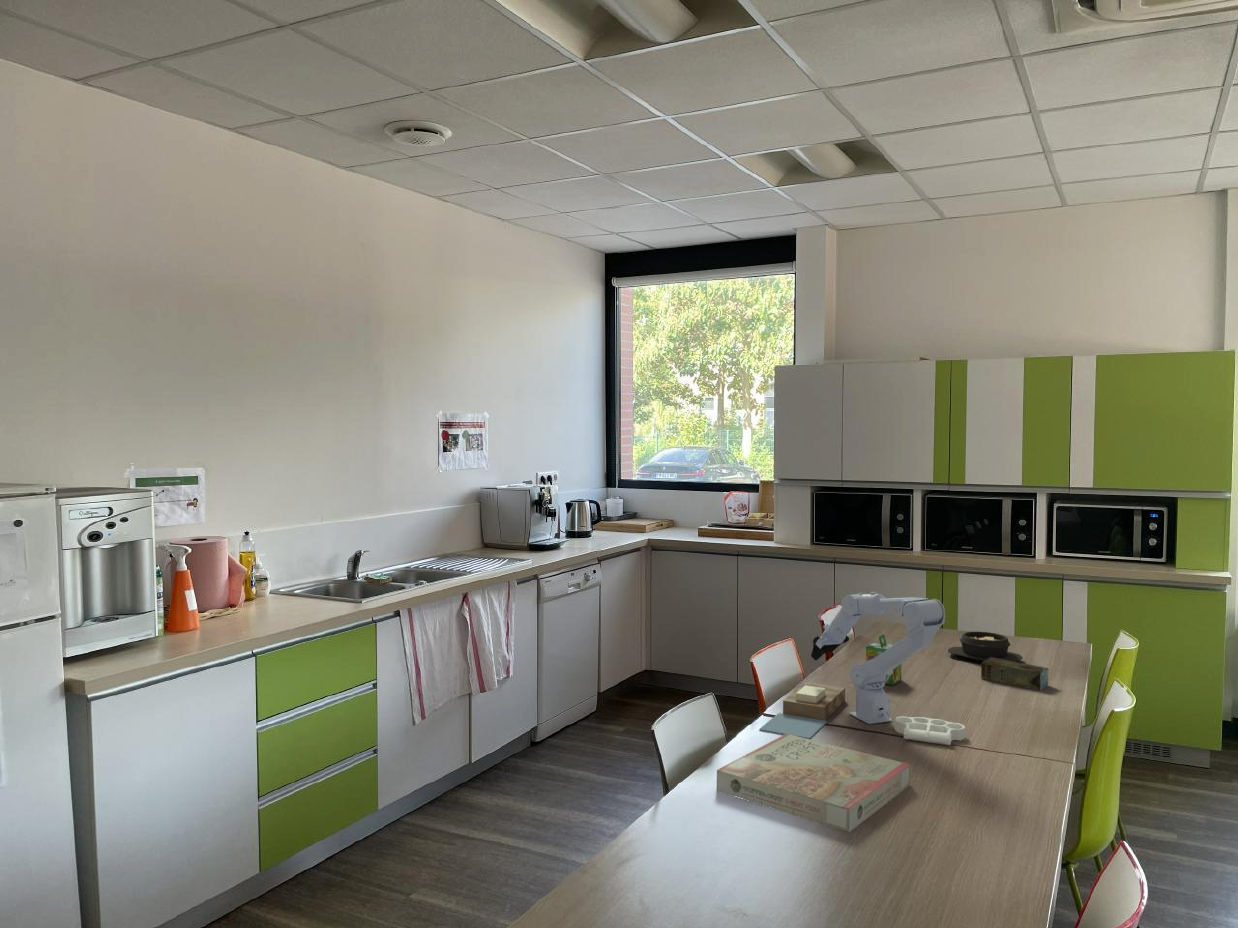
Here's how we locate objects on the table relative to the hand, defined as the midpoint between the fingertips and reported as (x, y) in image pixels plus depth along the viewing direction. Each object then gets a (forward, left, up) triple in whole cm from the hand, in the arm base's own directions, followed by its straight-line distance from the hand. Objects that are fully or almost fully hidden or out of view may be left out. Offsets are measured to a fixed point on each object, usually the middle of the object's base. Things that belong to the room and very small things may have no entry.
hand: (821, 653), depth 274 cm
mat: (-20, +22, -14) cm, 32 cm away
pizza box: (-58, +40, -14) cm, 72 cm away
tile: (-10, +10, -10) cm, 17 cm away
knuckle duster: (-38, -9, -14) cm, 42 cm away
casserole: (+21, -83, -14) cm, 87 cm away
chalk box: (+10, -31, -14) cm, 35 cm away
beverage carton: (-6, -70, -14) cm, 72 cm away
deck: (-7, +7, -14) cm, 17 cm away
